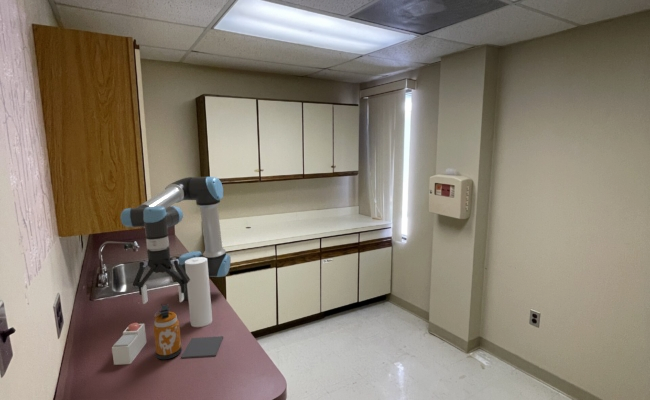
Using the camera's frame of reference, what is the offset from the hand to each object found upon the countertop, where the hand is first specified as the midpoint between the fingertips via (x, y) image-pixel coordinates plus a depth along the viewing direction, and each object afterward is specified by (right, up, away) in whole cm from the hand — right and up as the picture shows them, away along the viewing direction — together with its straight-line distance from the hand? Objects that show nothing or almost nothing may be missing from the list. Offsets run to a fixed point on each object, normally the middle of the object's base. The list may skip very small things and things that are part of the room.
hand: (163, 301), depth 133 cm
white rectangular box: (-14, -21, +4) cm, 26 cm away
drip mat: (+13, -20, +6) cm, 25 cm away
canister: (+1, -21, +4) cm, 22 cm away
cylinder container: (+5, -17, +27) cm, 32 cm away
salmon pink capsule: (-15, -19, +7) cm, 25 cm away
